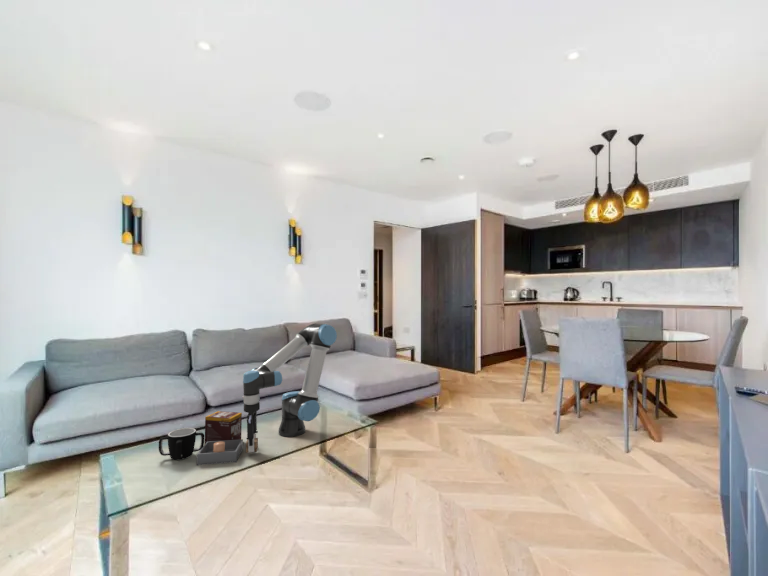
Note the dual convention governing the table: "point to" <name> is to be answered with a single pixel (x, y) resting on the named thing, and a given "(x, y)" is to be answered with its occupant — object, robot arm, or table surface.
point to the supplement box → (223, 426)
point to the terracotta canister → (219, 447)
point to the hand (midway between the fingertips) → (252, 449)
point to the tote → (229, 456)
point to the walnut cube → (254, 445)
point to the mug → (181, 443)
